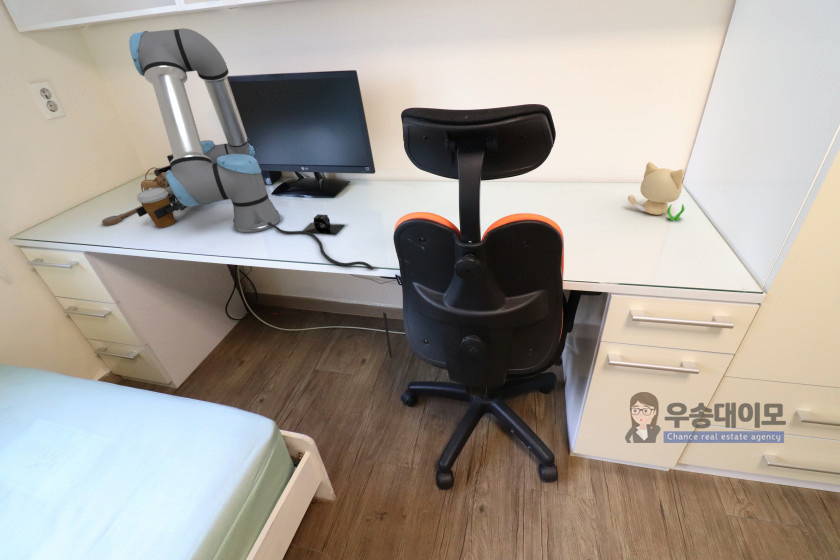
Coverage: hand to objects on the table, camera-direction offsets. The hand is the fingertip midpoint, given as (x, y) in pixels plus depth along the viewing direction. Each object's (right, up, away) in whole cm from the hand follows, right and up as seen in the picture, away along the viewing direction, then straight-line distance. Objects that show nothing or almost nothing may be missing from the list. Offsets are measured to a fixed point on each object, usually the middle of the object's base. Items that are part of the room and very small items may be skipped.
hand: (147, 214), depth 135 cm
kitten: (+168, -2, -14) cm, 168 cm away
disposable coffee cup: (+2, -3, +7) cm, 8 cm away
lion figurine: (-19, +14, +35) cm, 42 cm away
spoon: (-18, +4, +18) cm, 26 cm away
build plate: (+63, -6, -6) cm, 63 cm away
